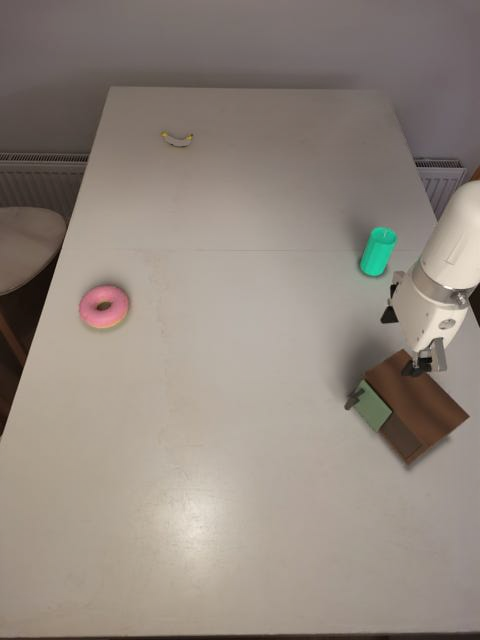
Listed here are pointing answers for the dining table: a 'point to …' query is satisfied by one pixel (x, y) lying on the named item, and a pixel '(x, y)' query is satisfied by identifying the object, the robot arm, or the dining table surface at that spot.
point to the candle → (378, 251)
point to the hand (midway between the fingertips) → (399, 346)
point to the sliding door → (368, 406)
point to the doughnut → (108, 315)
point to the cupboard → (412, 408)
